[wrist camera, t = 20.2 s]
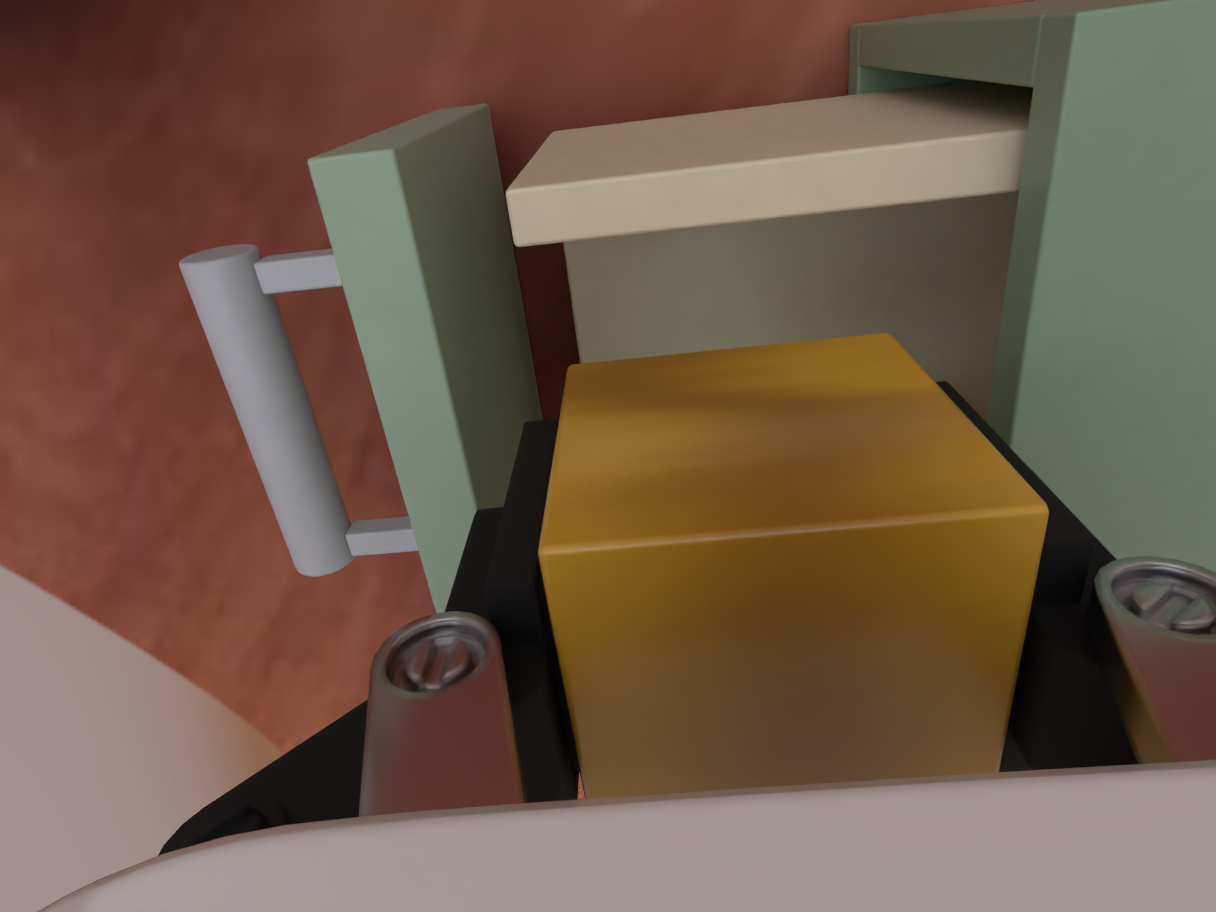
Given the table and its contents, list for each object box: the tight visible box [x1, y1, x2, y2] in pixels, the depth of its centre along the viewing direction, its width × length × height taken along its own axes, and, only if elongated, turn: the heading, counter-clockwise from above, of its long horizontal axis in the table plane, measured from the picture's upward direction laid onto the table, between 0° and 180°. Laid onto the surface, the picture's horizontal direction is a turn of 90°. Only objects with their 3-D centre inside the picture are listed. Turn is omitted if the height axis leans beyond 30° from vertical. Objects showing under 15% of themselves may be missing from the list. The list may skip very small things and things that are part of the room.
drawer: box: [179, 80, 1033, 613], centre depth 16 cm, size 18×10×8 cm, turn 97°
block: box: [538, 333, 1049, 799], centre depth 10 cm, size 4×4×4 cm
